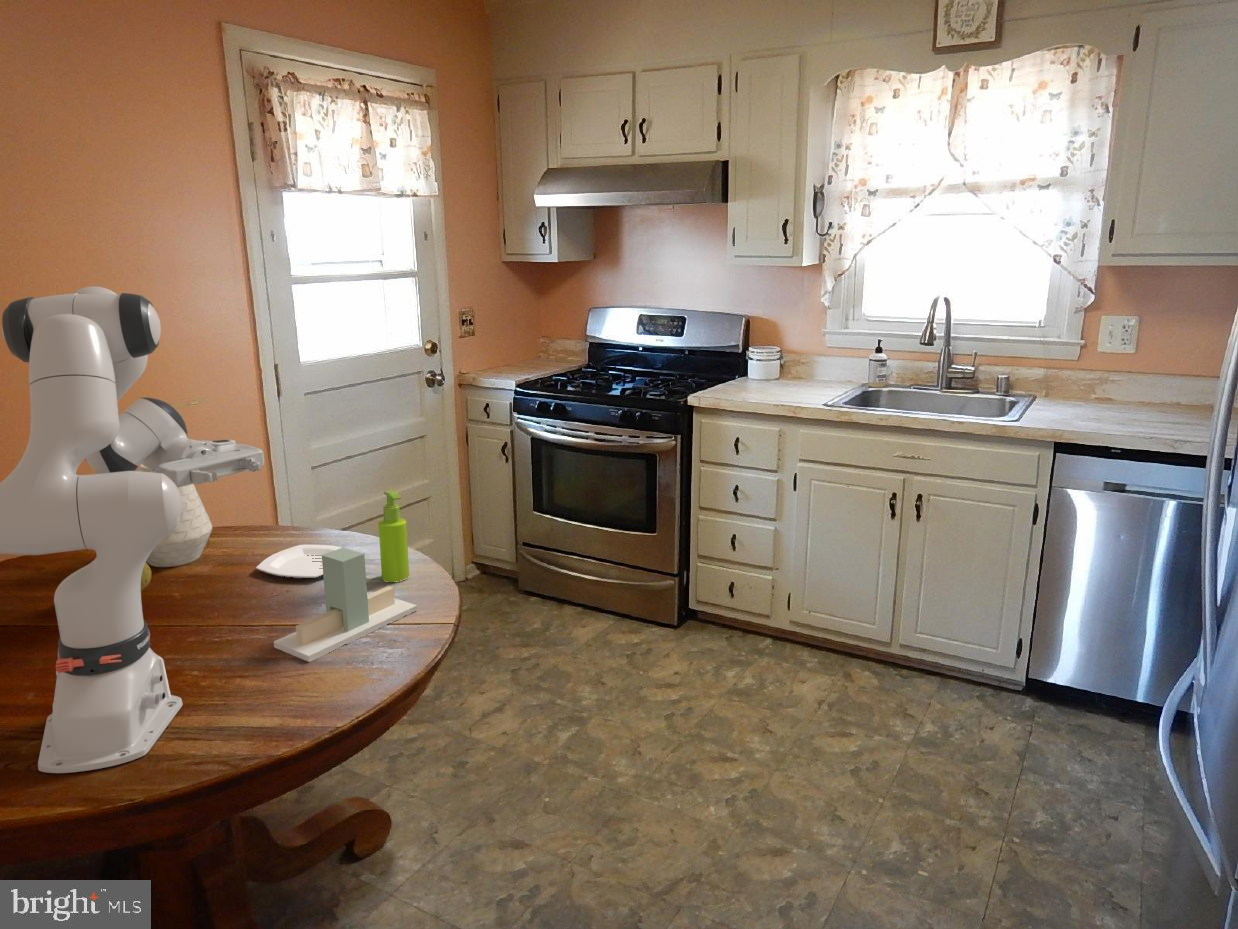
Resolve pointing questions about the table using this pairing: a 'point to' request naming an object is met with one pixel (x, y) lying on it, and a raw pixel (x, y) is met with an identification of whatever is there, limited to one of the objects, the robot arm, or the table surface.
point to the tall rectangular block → (346, 586)
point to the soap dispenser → (393, 541)
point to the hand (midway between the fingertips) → (236, 472)
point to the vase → (183, 532)
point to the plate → (297, 561)
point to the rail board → (342, 627)
